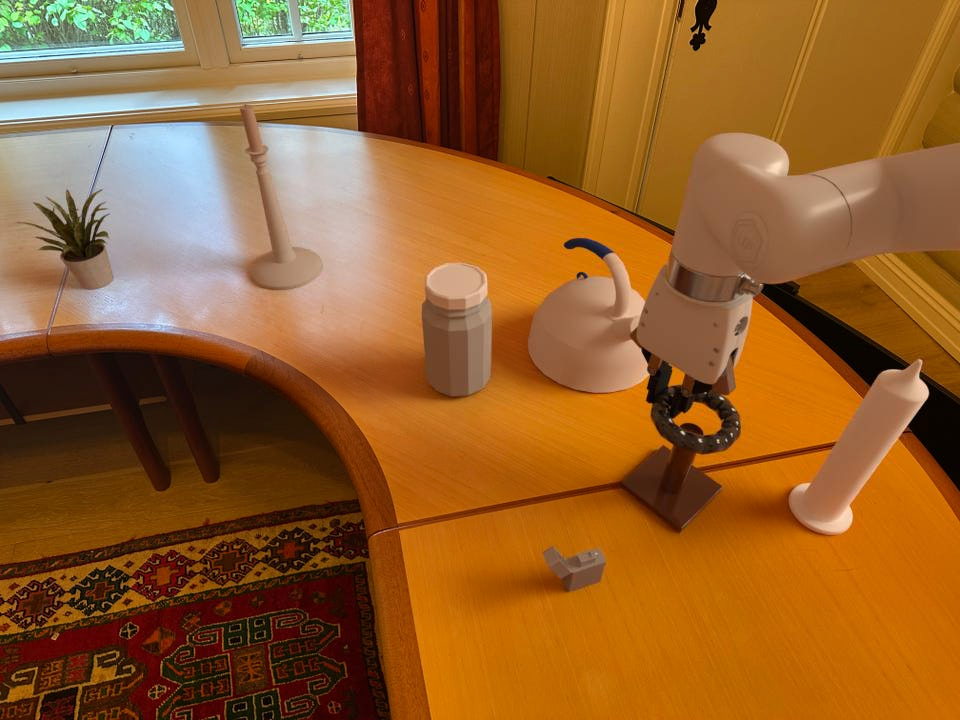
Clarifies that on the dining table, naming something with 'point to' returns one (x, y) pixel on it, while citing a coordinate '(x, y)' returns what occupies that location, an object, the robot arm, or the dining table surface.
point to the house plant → (79, 243)
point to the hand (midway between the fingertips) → (666, 403)
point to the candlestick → (276, 226)
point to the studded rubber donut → (690, 440)
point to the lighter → (576, 567)
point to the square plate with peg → (672, 484)
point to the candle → (859, 450)
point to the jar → (457, 329)
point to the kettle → (590, 329)
